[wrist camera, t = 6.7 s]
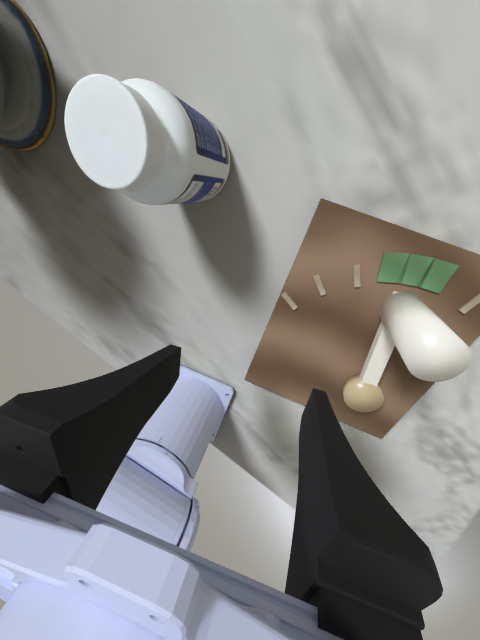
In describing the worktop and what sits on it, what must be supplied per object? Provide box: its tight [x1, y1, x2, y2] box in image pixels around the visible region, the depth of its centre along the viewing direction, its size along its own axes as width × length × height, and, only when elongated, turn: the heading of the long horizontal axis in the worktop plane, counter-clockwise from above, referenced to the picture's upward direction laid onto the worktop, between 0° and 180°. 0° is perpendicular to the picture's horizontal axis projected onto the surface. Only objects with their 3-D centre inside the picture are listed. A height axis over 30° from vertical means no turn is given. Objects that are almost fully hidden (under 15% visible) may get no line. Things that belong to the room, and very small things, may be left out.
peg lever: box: [342, 291, 471, 412], centre depth 17 cm, size 11×3×7 cm, turn 174°
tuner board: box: [245, 198, 480, 439], centre depth 21 cm, size 17×14×1 cm
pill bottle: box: [64, 74, 230, 205], centre depth 15 cm, size 5×5×10 cm
